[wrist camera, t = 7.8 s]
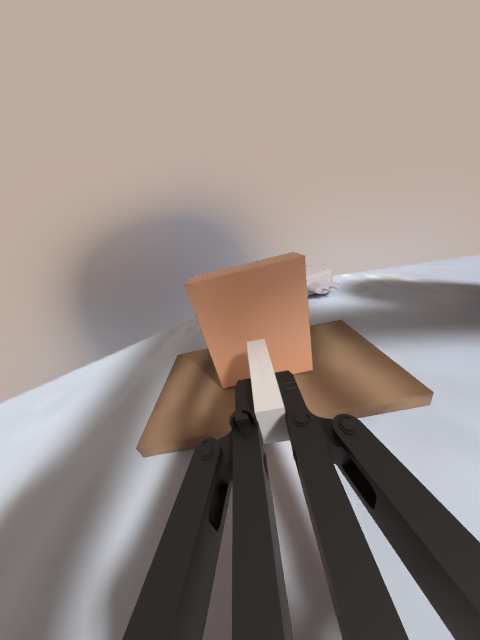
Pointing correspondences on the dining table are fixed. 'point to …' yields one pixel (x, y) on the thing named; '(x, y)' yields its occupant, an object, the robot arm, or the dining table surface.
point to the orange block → (254, 315)
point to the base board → (315, 386)
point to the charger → (319, 281)
